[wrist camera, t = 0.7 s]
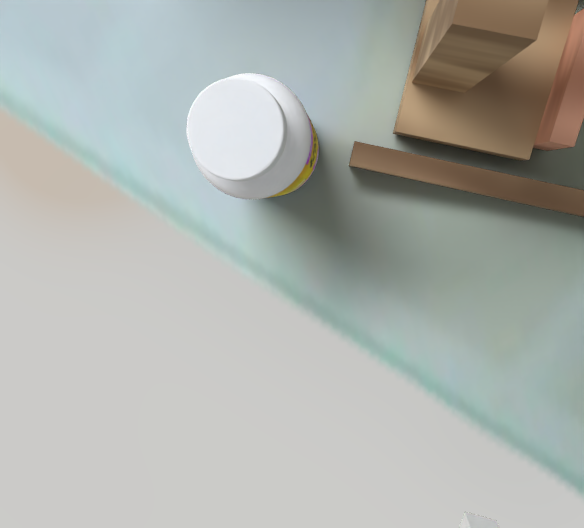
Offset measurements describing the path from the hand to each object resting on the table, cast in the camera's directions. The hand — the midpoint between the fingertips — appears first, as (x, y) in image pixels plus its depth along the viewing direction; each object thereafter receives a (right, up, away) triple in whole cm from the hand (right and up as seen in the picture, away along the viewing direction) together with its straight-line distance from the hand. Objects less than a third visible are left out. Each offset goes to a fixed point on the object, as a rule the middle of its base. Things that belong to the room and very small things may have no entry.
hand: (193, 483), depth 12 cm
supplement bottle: (+1, +14, +23) cm, 27 cm away
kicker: (+15, +19, +20) cm, 31 cm away
